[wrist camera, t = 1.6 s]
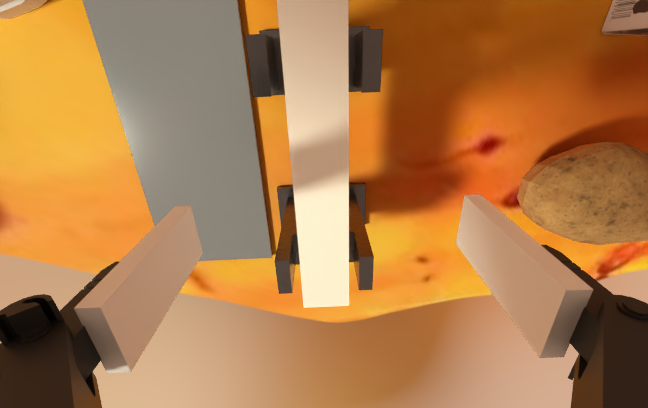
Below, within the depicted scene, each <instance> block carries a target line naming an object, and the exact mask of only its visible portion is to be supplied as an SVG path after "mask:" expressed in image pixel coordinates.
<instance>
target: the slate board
mask: <svg viewBox="0 0 648 408" xmlns="http://www.w3.org/2000/svg"><path fill="white" fill-rule="evenodd" d="M83 4H84V7H85V10H86V13H87V16H88V19H89V22H90V25H91V29H92V32H93V35H94V38H95V41H96V44H97V47H98V50H99V54H100V57H101V60H102V63H103V66H104V69H105V72H106V75H107V78H108V82H109V85H110V88H111V91H112V94H113V97H114V100H115V103H116V107H117V110H118V113H119V116H120V119H121V122H122V125H123V128H124V132H125V135H126V138H127V141H128V144H129V147H130V150H131V153H132V156H133V160H134V163H135V166H136V169H137V172H138V175H139V178H140V181H141V185H142V188H143V191H144V194H145V197H146V200H147V203H148V206H149V210H150V213H151V216H152V219H153V222H154V225H155V226H156V225H157V224H158V223H159V222H160V221H161V220H162V219H163V218H164V217H165V216H166V215H167V214H168V213H169V212H170V211H171V210H172V209H173V208H174V207H175V206H191V208H192V212H193V216H194V220H195V224H196V228H197V232H198V236H199V240H200V244H201V248H202V252H203V254H202V255H201V257H200V259H199V260H198V261H209V260H232V259H254V258H272V249H271V241H270V234H269V226H268V219H267V211H266V204H265V196H264V189H263V181H262V174H261V166H260V159H259V151H258V144H257V137H256V129H255V122H254V114H253V107H252V99H251V92H250V84H249V77H248V69H247V62H246V54H245V47H244V39H243V32H242V25H241V17H240V10H239V2H238V0H83Z"/></svg>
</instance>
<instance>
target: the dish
mask: <svg viewBox="0 0 648 408" xmlns="http://www.w3.org/2000/svg"><path fill="white" fill-rule="evenodd" d="M47 1H48V0H0V20H3V19H12V18H15V17H17V16H20V15H22V14H25V13H27V12H29V11H32V10H34V9H37V8H39V7H41V6H42V5H43V4H44V3H46V2H47Z"/></svg>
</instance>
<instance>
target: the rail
mask: <svg viewBox="0 0 648 408" xmlns="http://www.w3.org/2000/svg"><path fill="white" fill-rule="evenodd" d="M277 10H278V21H279V32H280V44H281V55H282V66H283V78H284V89H285V101H286V112H287V123H288V135H289V146H290V157H291V169H292V180H293V192H294V203H295V214H296V226H297V237H298V248H299V260H300V271H301V282H302V294H303V305H304V308H307V307H329V306H349V65H348V0H277Z"/></svg>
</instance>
